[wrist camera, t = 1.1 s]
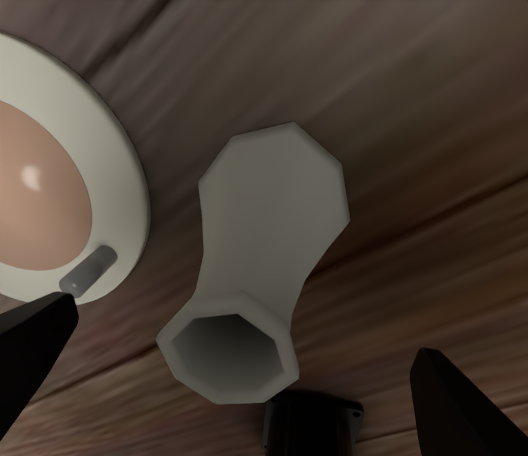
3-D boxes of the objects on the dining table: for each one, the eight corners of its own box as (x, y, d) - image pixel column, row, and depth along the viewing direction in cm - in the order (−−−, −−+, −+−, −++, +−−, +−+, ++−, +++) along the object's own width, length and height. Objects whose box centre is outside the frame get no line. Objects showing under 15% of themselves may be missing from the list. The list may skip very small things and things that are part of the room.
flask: (254, 279, 19) (199, 474, 10) (175, 173, 16) (12, 302, 8) (374, 224, 16) (447, 420, 7) (301, 90, 14) (278, 137, 5)
